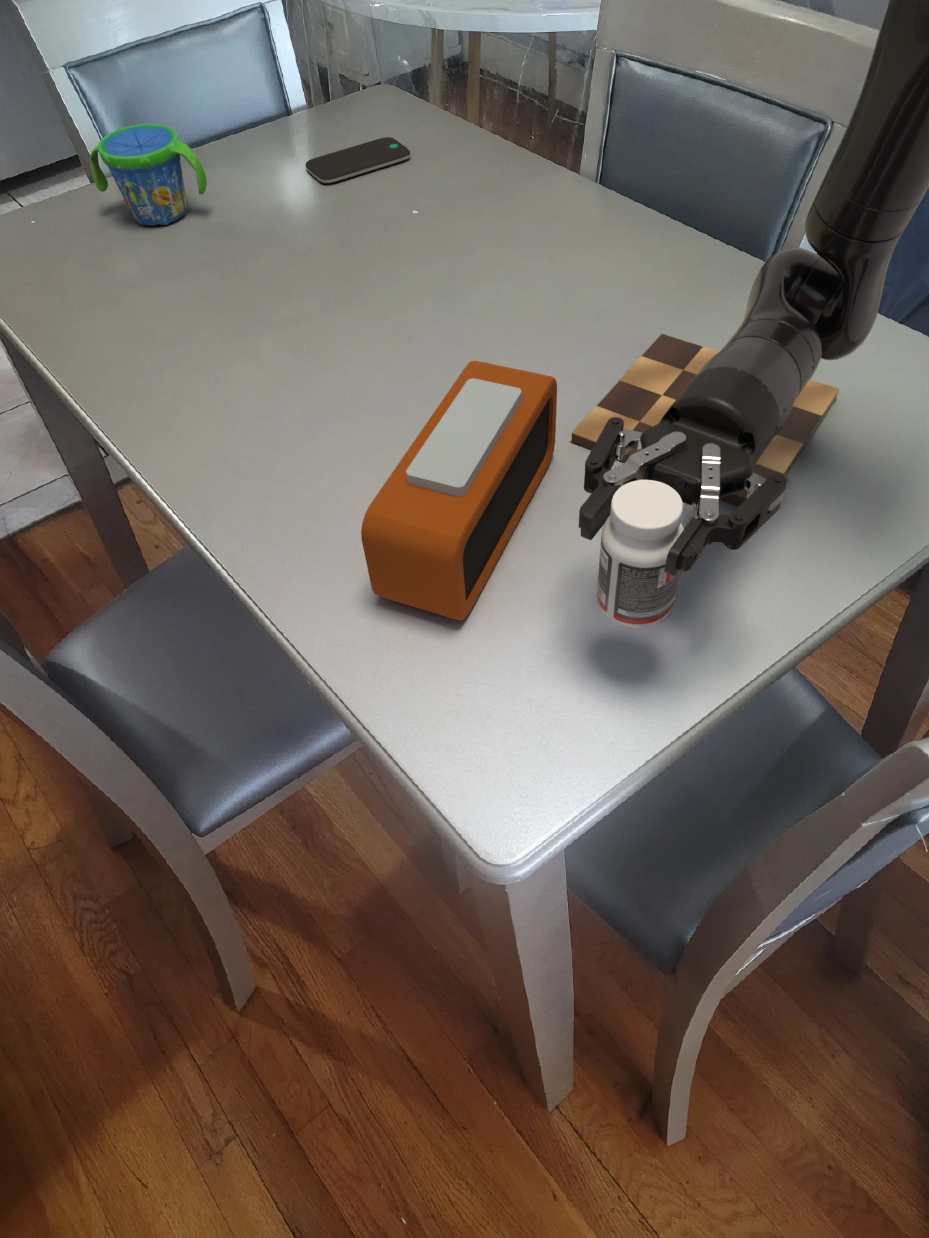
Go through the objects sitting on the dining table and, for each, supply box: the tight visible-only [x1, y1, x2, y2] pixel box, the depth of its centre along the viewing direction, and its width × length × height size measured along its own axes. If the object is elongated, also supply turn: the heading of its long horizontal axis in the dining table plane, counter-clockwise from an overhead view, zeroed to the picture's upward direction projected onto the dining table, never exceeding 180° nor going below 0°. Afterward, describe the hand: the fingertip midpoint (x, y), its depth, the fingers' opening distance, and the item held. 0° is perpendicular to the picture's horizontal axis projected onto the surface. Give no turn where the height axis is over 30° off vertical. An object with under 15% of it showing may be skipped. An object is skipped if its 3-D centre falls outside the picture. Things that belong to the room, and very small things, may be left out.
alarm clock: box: [360, 360, 558, 621], centre depth 76 cm, size 24×8×11 cm, turn 157°
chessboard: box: [570, 333, 840, 507], centre depth 88 cm, size 20×20×1 cm
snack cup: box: [89, 123, 208, 226], centre depth 118 cm, size 16×10×10 cm
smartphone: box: [305, 136, 411, 185], centre depth 129 cm, size 8×1×15 cm
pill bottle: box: [596, 480, 685, 628], centre depth 61 cm, size 6×6×10 cm
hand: (627, 546), depth 57 cm, fingers closed on pill bottle, 5 cm apart
